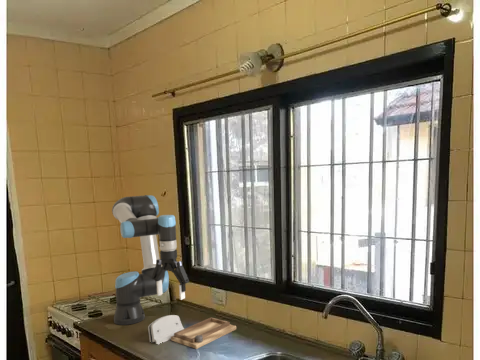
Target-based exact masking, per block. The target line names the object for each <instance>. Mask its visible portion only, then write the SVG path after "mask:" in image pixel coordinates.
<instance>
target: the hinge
mask: <svg viewBox="0 0 480 360" xmlns="http://www.w3.org/2000/svg"><path fill="white" fill-rule="evenodd" d="M183 329H185V328H184V326H183V324H182V321H181V318H180V316H179V315H175V314H169V315H164V316H162V317H159V318H157V319H155V320H154V321H152V322H151V323H149V325H148V326H147V330H148V337H149V343H150V342H151V343H155V345H156V344H158V345H160V343H161V344H163V343H166V342H167V341H170V340H171V337H172V336H174V333H176V332H178V331H180V330H183ZM162 342H163V343H162Z"/></svg>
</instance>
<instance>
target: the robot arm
mask: <svg viewBox="0 0 480 360" xmlns="http://www.w3.org/2000/svg"><path fill="white" fill-rule="evenodd" d="M111 212H112V216H113V217H114V219H116V220H118V221H119V223H120V225H119V226H120V234H121V237H122V238H123V239H133V238H138V237H139V239H140V246H141V254H142V260H143V268H142V269H141V273H139V272H138V271H129V272H126V273H125V272H124V273H122V274H120V275H118V276H117V277H116V278H115V286H114V288H115V295H116V297H115V298H116V300H115V301H116V307H115V312H114V316H113V323H114V324H115V325H120V326H125V325H133V324H138V323H140V322H142V321H144V319H145V317H146V316H145V311H144V307H143V306H142V302H141V298H144V297H151V296H155V295H156V296H157V297H159V296H162V295H163V294H164V293H167V292H168V289H169V285H170V282H169V281H170V280H169V279H170V277H169V272H171V273H173V275H174V276H175V277H176V279H177V280H178V283H179V284H178V288H179V289H178V290H179V294H178V296H179V300H181V301H182V300H184V299H186V290H187V288H186V284H187V283H189V282H190V280H189V277H188V274H187V273H186V270H185V268H184V264H183V261H182V260H180V261H178V260H177V258H178V249H177V248H178V244H177V242H178V241H177V227H176V224H177V222H176V217H175V215H174V214H162V215H160V214H159V213H160V210H159V203H158V200H157V198H156V197H155V196H154V195H152V194H151V195H150V194H148V195H147V194H144V195H134V196H125V197H121V198H120V199H118V200H116V201H115V203H114V204H113V205H112V209H111ZM158 215H159V216H158ZM157 216H158V217H157ZM157 235H158V237H159V245H158V237H157Z"/></svg>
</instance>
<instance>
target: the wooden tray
mask: <svg viewBox="0 0 480 360" xmlns="http://www.w3.org/2000/svg"><path fill="white" fill-rule="evenodd" d="M236 330H237V326H236V325H233V324H231V323H230V321H227V320H223V319H219V318H216V317H215V318H214V317H212V316H211V317H209V318H205V319H204V320H202V321H199V322H197V323H194V324H192V325H189V326H188V327H185V328H184V329H183V330H180V331H178V332H176V333H174V336H172V337H171V339H170V340H171V341H173V342H175V343H178V344H181V345H184V346H186V347H190V348H193V349H196V350H198V349H199V348H201V347H204V346H205V345H208V344H210V343H212V342H214V341H216V340H217V339H219V338H221V337H224V336H225V335H228V334H230V333H233V332H234V331H236Z"/></svg>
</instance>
